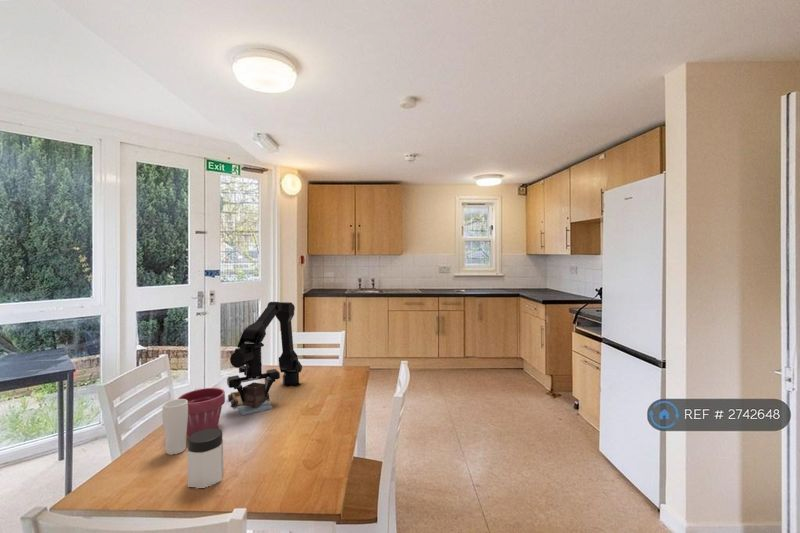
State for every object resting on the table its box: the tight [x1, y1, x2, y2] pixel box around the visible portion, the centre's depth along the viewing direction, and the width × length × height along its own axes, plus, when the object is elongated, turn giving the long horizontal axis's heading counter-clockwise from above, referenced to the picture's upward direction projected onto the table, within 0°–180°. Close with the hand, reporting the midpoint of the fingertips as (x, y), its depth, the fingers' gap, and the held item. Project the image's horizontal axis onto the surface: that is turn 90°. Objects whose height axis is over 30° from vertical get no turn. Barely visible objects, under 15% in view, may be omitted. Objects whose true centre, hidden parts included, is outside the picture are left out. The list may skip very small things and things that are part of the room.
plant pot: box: [177, 387, 226, 438], centre depth 125 cm, size 14×14×13 cm
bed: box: [227, 390, 271, 410], centre depth 152 cm, size 14×12×3 cm
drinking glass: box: [161, 398, 188, 456], centre depth 112 cm, size 7×7×15 cm
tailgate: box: [236, 400, 273, 416], centre depth 143 cm, size 11×9×1 cm
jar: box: [186, 428, 224, 489], centre depth 97 cm, size 9×8×12 cm
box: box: [242, 382, 265, 407], centre depth 143 cm, size 6×6×7 cm
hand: (254, 399), depth 143 cm, fingers closed on box, 8 cm apart
